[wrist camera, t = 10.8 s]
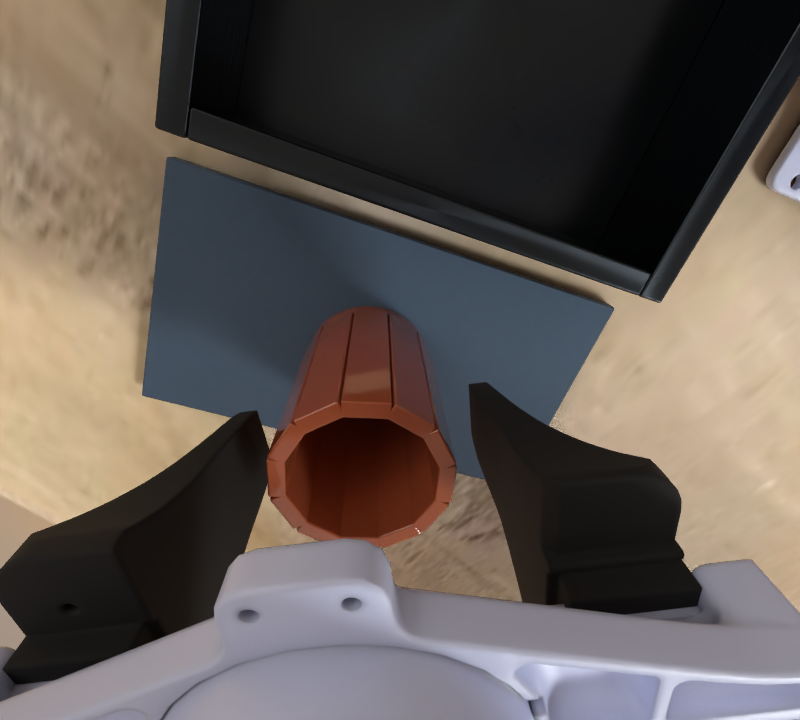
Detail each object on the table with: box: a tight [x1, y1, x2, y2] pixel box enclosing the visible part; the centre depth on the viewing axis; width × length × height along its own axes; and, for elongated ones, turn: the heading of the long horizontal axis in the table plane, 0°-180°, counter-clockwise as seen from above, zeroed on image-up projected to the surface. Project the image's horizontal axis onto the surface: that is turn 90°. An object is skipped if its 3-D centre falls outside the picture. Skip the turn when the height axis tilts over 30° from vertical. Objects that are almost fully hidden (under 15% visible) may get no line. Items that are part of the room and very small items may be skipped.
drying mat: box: [142, 157, 614, 479], centre depth 19 cm, size 18×10×1 cm, turn 71°
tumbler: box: [266, 306, 457, 548], centre depth 16 cm, size 5×5×8 cm
